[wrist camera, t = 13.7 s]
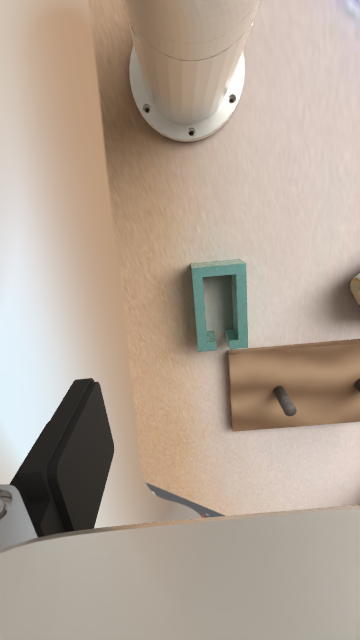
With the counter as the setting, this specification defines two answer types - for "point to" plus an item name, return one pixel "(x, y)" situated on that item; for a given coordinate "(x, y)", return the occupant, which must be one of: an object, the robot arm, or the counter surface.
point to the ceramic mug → (356, 288)
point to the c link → (239, 303)
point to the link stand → (294, 385)
